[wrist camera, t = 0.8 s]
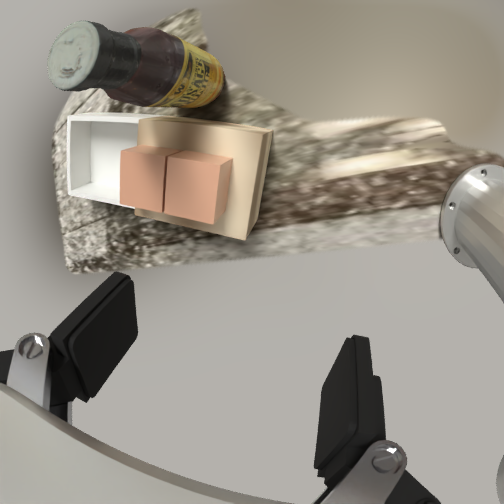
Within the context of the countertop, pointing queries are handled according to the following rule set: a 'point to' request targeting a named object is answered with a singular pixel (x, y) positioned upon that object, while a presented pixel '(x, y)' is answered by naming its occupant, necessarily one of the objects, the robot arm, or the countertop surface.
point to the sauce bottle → (134, 66)
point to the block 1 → (144, 176)
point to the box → (99, 153)
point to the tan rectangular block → (223, 144)
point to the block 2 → (197, 185)
